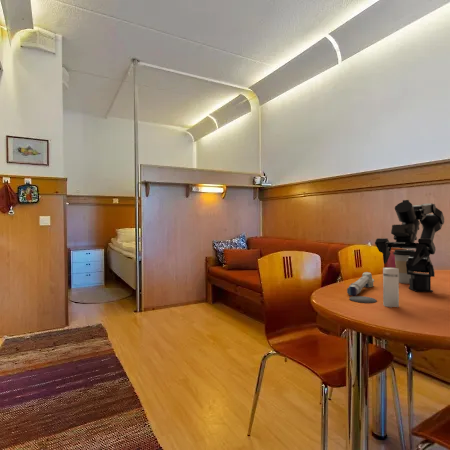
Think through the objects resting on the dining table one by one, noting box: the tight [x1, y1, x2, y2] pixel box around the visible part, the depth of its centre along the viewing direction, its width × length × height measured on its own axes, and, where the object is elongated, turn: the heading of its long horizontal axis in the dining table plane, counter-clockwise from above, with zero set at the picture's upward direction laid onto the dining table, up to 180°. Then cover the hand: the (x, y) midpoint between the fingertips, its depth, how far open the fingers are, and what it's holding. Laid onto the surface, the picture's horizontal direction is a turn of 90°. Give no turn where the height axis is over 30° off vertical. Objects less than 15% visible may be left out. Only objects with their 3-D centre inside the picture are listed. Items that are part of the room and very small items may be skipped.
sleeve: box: [382, 267, 400, 308], centre depth 103 cm, size 5×5×12 cm
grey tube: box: [346, 271, 375, 297], centre depth 128 cm, size 5×7×25 cm
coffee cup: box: [392, 248, 415, 284], centre depth 143 cm, size 9×9×15 cm
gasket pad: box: [348, 295, 378, 304], centre depth 111 cm, size 9×9×1 cm
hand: (398, 264), depth 109 cm, fingers open, 9 cm apart
